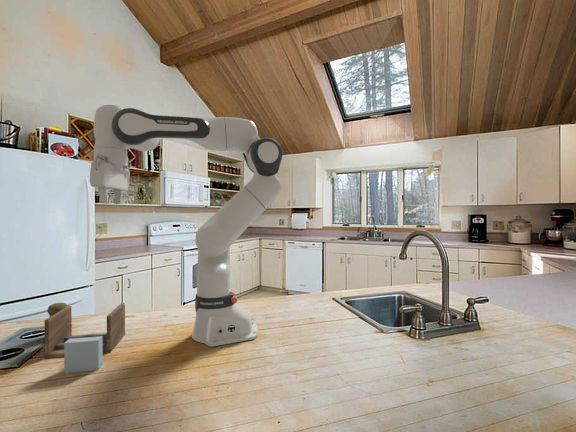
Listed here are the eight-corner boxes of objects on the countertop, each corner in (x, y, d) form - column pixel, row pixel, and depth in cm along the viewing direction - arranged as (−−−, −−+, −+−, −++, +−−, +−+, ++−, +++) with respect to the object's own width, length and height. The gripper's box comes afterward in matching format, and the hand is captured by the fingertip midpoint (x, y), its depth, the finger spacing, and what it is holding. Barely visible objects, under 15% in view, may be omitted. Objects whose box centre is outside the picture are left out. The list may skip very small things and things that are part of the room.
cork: (56, 341, 91) (55, 307, 90) (41, 339, 92) (40, 306, 92) (73, 333, 97) (73, 301, 96) (59, 331, 98) (59, 300, 98)
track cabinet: (125, 334, 96) (124, 302, 96) (110, 352, 84) (110, 316, 84) (68, 338, 92) (67, 305, 92) (44, 358, 81) (44, 320, 80)
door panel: (102, 364, 78) (102, 336, 77) (98, 369, 75) (98, 340, 75) (69, 367, 76) (69, 338, 76) (64, 373, 74) (64, 343, 73)
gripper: (108, 153, 78) (108, 203, 78) (132, 164, 98) (133, 204, 98) (82, 152, 77) (83, 203, 77) (112, 163, 97) (113, 204, 97)
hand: (111, 203), depth 88 cm, fingers open, 8 cm apart
